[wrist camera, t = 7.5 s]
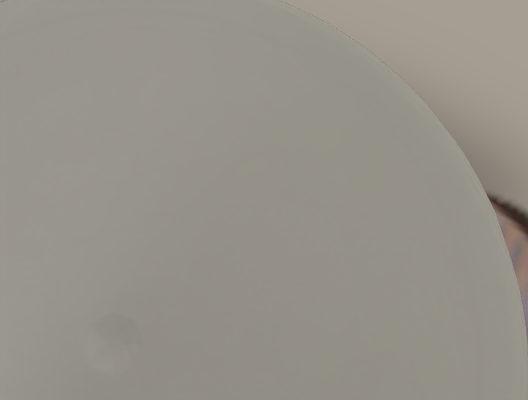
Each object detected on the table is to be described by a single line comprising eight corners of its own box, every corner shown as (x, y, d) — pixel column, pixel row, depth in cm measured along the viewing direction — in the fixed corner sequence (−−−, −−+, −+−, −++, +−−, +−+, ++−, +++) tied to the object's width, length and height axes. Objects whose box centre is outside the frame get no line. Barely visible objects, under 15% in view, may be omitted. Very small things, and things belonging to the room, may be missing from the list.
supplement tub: (208, 143, 21) (56, -179, 6) (396, 266, 20) (717, 208, 5) (71, 332, 20) (-497, 458, 5) (263, 476, 19) (216, 1151, 4)
